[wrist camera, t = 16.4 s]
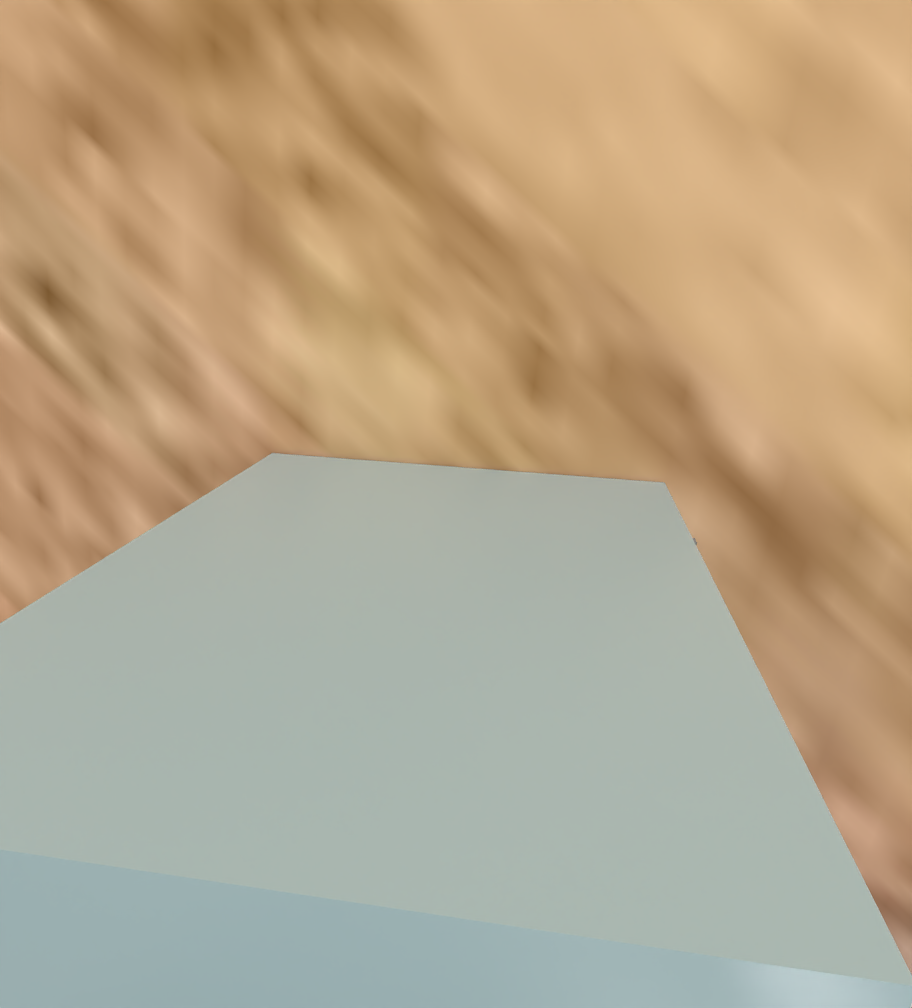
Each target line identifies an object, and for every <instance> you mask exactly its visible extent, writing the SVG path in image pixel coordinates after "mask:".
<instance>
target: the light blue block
mask: <svg viewBox="0 0 912 1008" xmlns="http://www.w3.org/2000/svg"><path fill="white" fill-rule="evenodd" d="M911 1004H912V975H911V973H910V971H909V969H908V967H907V965H906V963H905V961H904V959H903V957H902V955H901V953H900V951H899V949H898V947H897V945H896V943H895V941H894V939H893V937H892V935H891V933H890V931H889V929H888V927H887V925H886V923H885V921H884V919H883V917H882V915H881V913H880V911H879V909H878V907H877V905H876V903H875V901H874V899H873V897H872V895H871V893H870V891H869V889H868V887H867V885H866V883H865V881H864V879H863V877H862V875H861V873H860V871H859V869H858V867H857V865H856V863H855V861H854V859H853V857H852V855H851V853H850V851H849V849H848V847H847V845H846V843H845V841H844V839H843V838H842V836H841V834H840V832H839V830H838V828H837V826H836V824H835V822H834V820H833V818H832V816H831V814H830V812H829V810H828V808H827V806H826V804H825V802H824V800H823V798H822V796H821V794H820V792H819V790H818V788H817V786H816V784H815V782H814V780H813V778H812V776H811V774H810V772H809V770H808V768H807V766H806V764H805V762H804V760H803V758H802V756H801V754H800V752H799V750H798V748H797V746H796V744H795V742H794V740H793V738H792V736H791V734H790V732H789V730H788V728H787V726H786V724H785V722H784V720H783V718H782V716H781V714H780V712H779V710H778V708H777V706H776V704H775V702H774V700H773V698H772V696H771V694H770V692H769V690H768V688H767V686H766V684H765V682H764V680H763V678H762V676H761V674H760V672H759V670H758V668H757V666H756V664H755V662H754V660H753V658H752V656H751V654H750V652H749V650H748V648H747V646H746V644H745V642H744V640H743V638H742V636H741V634H740V632H739V630H738V628H737V626H736V624H735V622H734V620H733V618H732V616H731V614H730V612H729V610H728V608H727V606H726V604H725V602H724V600H723V598H722V596H721V594H720V592H719V590H718V588H717V586H716V584H715V582H714V580H713V578H712V576H711V574H710V572H709V570H708V568H707V566H706V564H705V562H704V560H703V558H702V556H701V554H700V552H699V550H698V548H697V546H696V544H695V542H694V540H693V538H692V536H691V534H690V532H689V530H688V528H687V526H686V524H685V522H684V520H683V519H682V517H681V515H680V513H679V511H678V509H677V507H676V505H675V503H674V501H673V499H672V497H671V495H670V493H669V491H668V489H667V487H666V485H665V483H663V482H650V481H636V480H623V479H610V478H596V477H583V476H570V475H556V474H543V473H530V472H516V471H503V470H490V469H476V468H463V467H450V466H436V465H423V464H410V463H396V462H383V461H370V460H356V459H343V458H330V457H316V456H303V455H290V454H276V453H272V454H270V455H268V456H267V457H265V458H264V459H262V460H260V461H259V462H257V463H256V464H254V465H252V466H251V467H249V468H248V469H246V470H244V471H243V472H241V473H240V474H238V475H236V476H235V477H233V478H232V479H230V480H228V481H227V482H225V483H224V484H222V485H220V486H219V487H217V488H216V489H214V490H212V491H211V492H209V493H208V494H206V495H204V496H203V497H201V498H200V499H198V500H196V501H195V502H193V503H192V504H190V505H189V506H187V507H185V508H184V509H182V510H181V511H179V512H177V513H176V514H174V515H173V516H171V517H169V518H168V519H166V520H165V521H163V522H161V523H160V524H158V525H157V526H155V527H153V528H152V529H150V530H149V531H147V532H145V533H144V534H142V535H141V536H139V537H137V538H136V539H134V540H133V541H131V542H129V543H128V544H126V545H125V546H123V547H121V548H120V549H118V550H117V551H115V552H113V553H112V554H110V555H109V556H107V557H105V558H104V559H102V560H101V561H99V562H97V563H96V564H94V565H93V566H91V567H89V568H88V569H86V570H85V571H83V572H81V573H80V574H78V575H77V576H75V577H73V578H72V579H70V580H69V581H67V582H65V583H64V584H62V585H61V586H59V587H57V588H56V589H54V590H53V591H51V592H49V593H48V594H46V595H45V596H43V597H41V598H40V599H38V600H37V601H35V602H33V603H32V604H30V605H29V606H27V607H25V608H24V609H22V610H21V611H19V612H18V613H16V614H14V615H13V616H11V617H10V618H8V619H6V620H5V621H3V622H2V623H0V1008H910V1007H911Z"/></svg>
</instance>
